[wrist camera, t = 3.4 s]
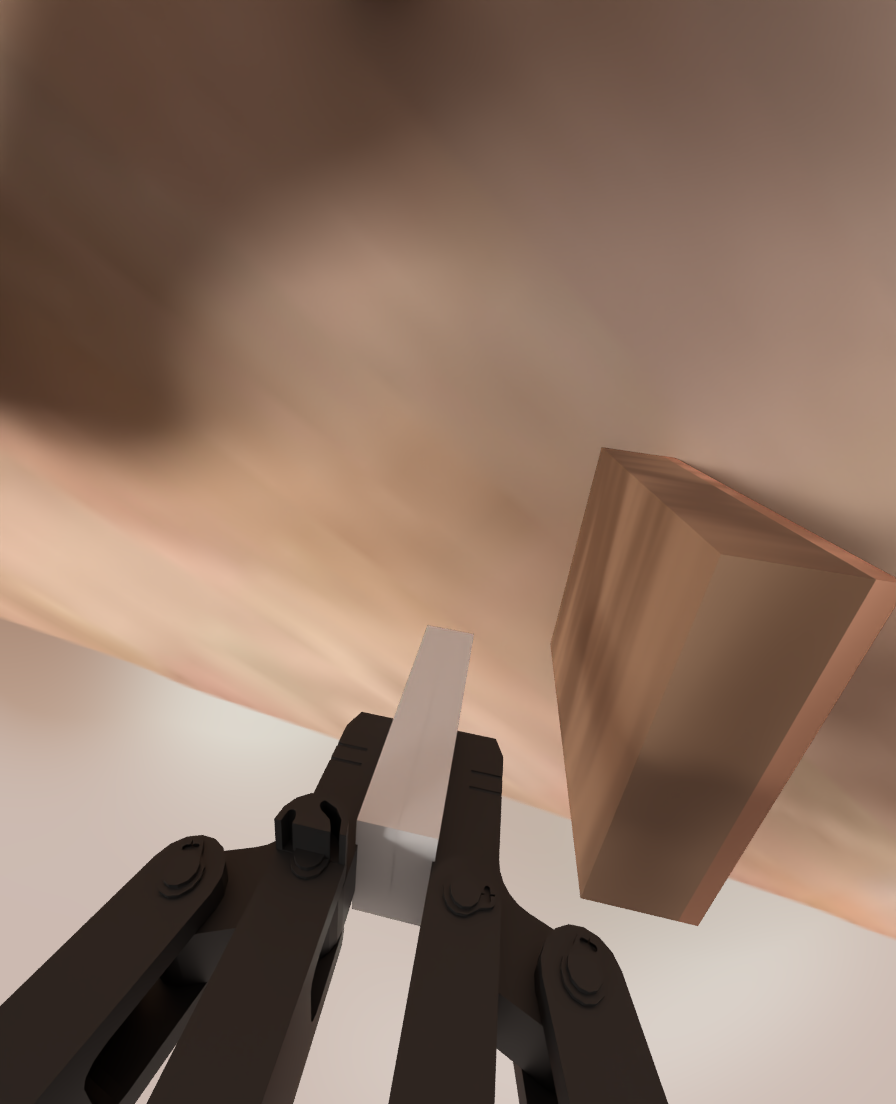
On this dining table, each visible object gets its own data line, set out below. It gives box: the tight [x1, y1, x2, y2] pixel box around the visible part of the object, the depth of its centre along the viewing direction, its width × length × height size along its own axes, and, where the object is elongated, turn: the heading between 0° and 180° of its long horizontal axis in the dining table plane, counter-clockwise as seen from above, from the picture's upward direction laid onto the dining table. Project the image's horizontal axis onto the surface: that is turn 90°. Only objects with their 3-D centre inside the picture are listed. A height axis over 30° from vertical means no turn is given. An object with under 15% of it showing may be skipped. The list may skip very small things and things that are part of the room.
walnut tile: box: [551, 448, 896, 926], centre depth 18 cm, size 4×12×14 cm, turn 173°
